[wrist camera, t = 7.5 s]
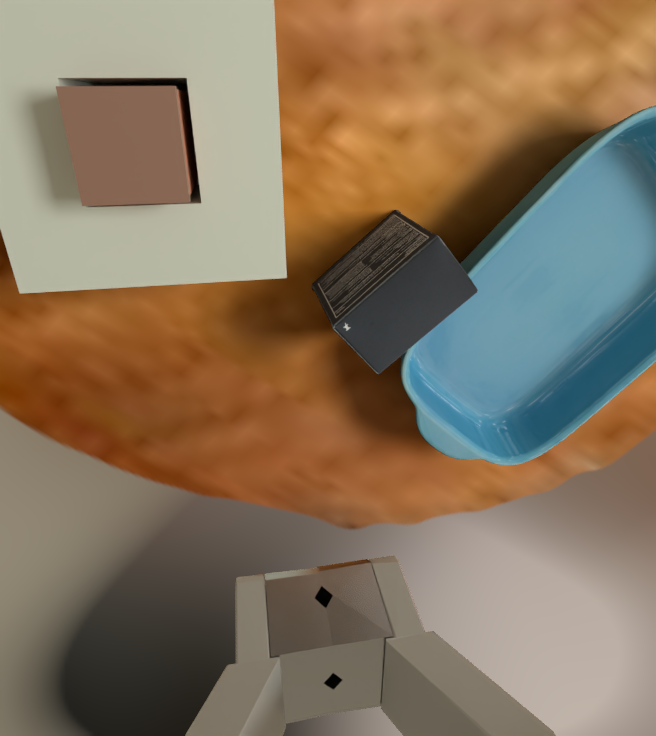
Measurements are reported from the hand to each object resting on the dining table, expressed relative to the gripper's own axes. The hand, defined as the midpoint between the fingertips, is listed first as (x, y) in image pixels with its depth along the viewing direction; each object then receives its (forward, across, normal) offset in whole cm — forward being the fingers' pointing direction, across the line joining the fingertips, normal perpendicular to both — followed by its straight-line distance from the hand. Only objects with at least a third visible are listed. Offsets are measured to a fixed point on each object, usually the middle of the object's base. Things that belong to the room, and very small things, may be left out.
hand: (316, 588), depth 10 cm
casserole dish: (+40, -29, +9) cm, 50 cm away
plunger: (+38, +7, -6) cm, 39 cm away
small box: (+39, -11, +6) cm, 41 cm away
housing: (+39, +7, -6) cm, 40 cm away
